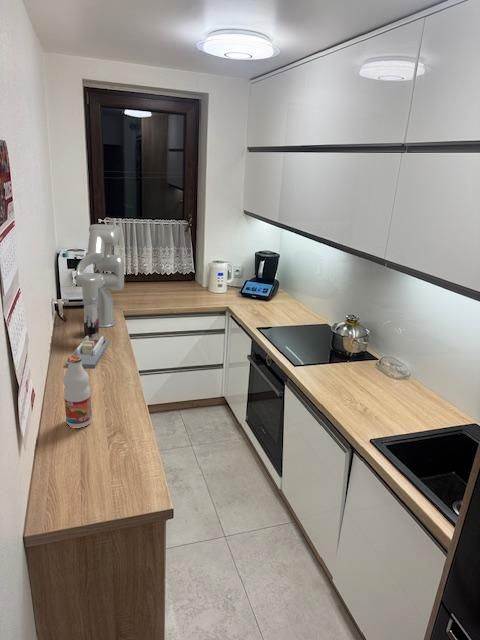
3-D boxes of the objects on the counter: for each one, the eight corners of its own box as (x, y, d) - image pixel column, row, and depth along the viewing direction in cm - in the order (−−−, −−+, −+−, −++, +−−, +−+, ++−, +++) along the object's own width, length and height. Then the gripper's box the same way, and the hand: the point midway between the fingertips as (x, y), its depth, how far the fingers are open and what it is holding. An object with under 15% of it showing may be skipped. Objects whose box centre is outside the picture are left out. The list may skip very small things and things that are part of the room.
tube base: (84, 341, 241) (83, 333, 240) (109, 342, 242) (109, 334, 241) (65, 367, 212) (64, 357, 211) (95, 368, 213) (94, 358, 212)
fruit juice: (97, 419, 173) (93, 355, 164) (80, 432, 165) (75, 365, 155) (78, 413, 176) (73, 350, 167) (61, 425, 168) (54, 359, 158)
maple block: (85, 348, 229) (85, 340, 227) (94, 348, 229) (94, 340, 228) (82, 353, 223) (82, 345, 222) (91, 353, 224) (91, 345, 222)
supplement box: (92, 339, 246) (90, 312, 240) (84, 337, 246) (82, 311, 241) (99, 333, 254) (98, 307, 248) (92, 332, 254) (90, 306, 249)
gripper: (87, 296, 233) (89, 328, 239) (78, 304, 218) (81, 338, 224) (101, 296, 233) (103, 329, 239) (94, 305, 219) (95, 339, 225)
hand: (92, 333), depth 232 cm, fingers closed
